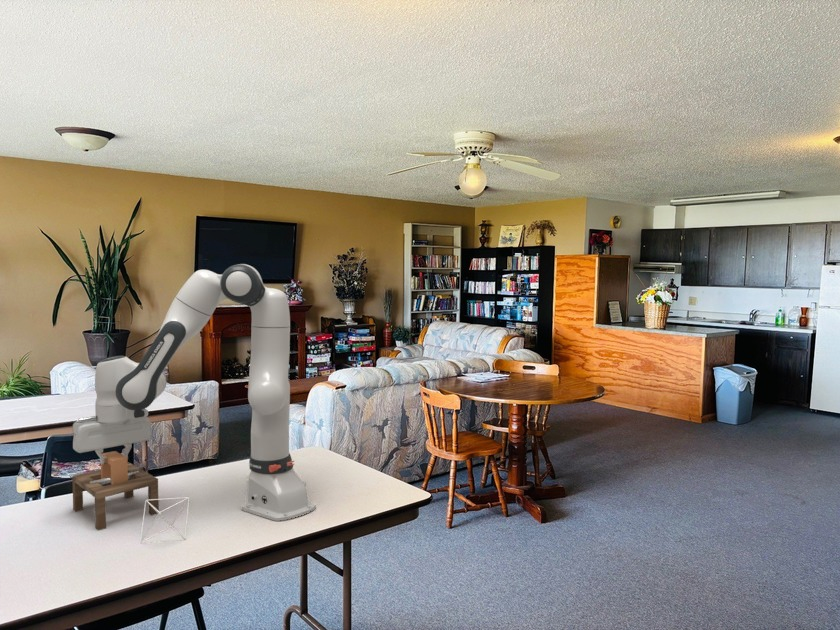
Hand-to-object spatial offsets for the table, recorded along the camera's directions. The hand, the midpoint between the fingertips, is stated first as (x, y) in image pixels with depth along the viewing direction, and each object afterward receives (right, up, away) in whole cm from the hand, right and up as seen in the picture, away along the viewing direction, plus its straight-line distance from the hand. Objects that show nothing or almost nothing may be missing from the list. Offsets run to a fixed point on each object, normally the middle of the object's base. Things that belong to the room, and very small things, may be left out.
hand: (114, 461), depth 170 cm
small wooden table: (0, -15, +1) cm, 15 cm away
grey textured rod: (0, -6, 0) cm, 6 cm away
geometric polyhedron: (+21, -16, -15) cm, 30 cm away
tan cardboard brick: (0, -6, 0) cm, 6 cm away
